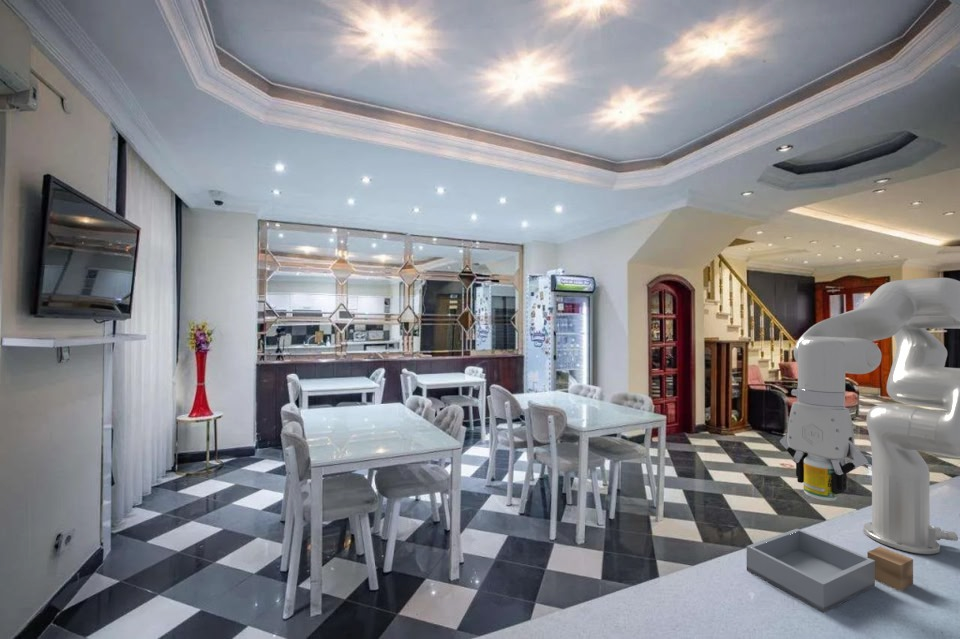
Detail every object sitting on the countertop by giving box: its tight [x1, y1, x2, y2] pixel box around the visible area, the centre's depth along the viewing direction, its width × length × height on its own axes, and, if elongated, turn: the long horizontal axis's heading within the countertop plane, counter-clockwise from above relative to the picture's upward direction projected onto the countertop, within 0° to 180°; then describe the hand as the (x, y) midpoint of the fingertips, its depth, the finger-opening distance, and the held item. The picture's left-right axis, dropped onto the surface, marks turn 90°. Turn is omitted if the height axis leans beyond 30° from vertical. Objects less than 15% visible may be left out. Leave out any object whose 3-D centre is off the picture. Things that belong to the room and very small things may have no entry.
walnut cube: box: [866, 546, 914, 592], centre depth 82 cm, size 5×5×5 cm
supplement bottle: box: [803, 454, 838, 502], centre depth 85 cm, size 5×5×10 cm
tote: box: [746, 528, 876, 614], centre depth 83 cm, size 18×14×5 cm
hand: (820, 486), depth 85 cm, fingers closed on supplement bottle, 5 cm apart
